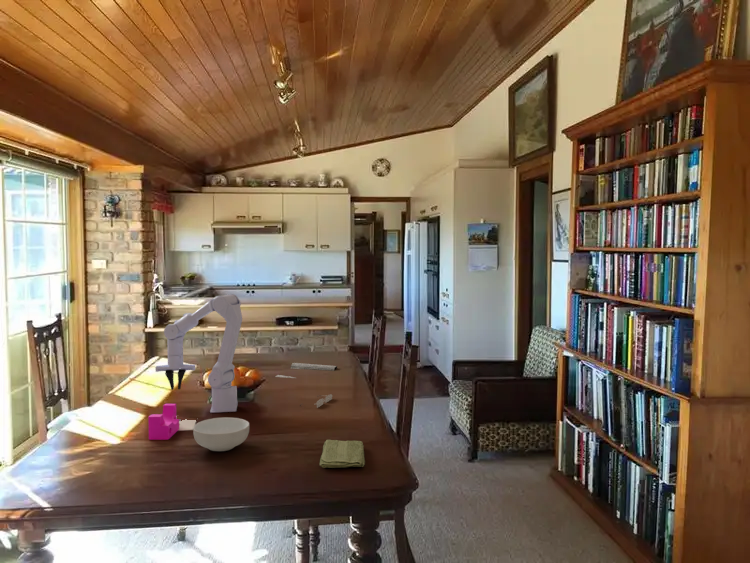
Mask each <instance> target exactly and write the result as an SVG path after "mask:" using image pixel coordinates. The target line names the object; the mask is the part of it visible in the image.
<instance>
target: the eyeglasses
mask: <svg viewBox="0 0 750 563" xmlns="http://www.w3.org/2000/svg"><path fill="white" fill-rule="evenodd" d="M333 396H334V395H332V394H328V395H319V394H318V395H317V398H318V397H325V398H320V399H319V400H317V401H316V403H315V405H316V408H317V409H318V408H320V407H321V406H323V405H324V403H328V402H330V401H331V400H332V399H333ZM301 405H302V404H300V405H299V407H301Z"/></svg>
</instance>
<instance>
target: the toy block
mask: <svg viewBox="0 0 750 563" xmlns="http://www.w3.org/2000/svg"><path fill="white" fill-rule="evenodd" d="M177 416H178V415H177V403H165V404H163V405H162V413H160V414H159V413H155V414H154V413H153V414H150V415H149V416H148V417H147V418H148V423H147V424H148V440H150V441H151V440H153V441H154V440H161V441H163V440H165V441H166V440H169V439H171V438H172V437H173V436H174V435H175V434H176V433H177V432H179V431H178V430H179V419H177Z"/></svg>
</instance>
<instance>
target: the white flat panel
mask: <svg viewBox="0 0 750 563" xmlns="http://www.w3.org/2000/svg"><path fill="white" fill-rule="evenodd" d="M195 424H197V421H196V420H187V419H185V420H182V421H181V419H179V430H178V431H177V432H180V431H193V427H194V425H195Z"/></svg>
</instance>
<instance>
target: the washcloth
mask: <svg viewBox="0 0 750 563" xmlns="http://www.w3.org/2000/svg"><path fill="white" fill-rule="evenodd" d="M364 447H365V446H364V443H363V441H361V440H338V439H326V440H325V441H324V443H323V446H322V453H321V455H320V459H319V466H320V467H321V468H323V469H325V468H329V469H330V468H332V469H333V468H334V469H335V468H351V467H355V468H356V467H358V468H359V467H360V468H363V467H365V465H366V460H365V451H364Z"/></svg>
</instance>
